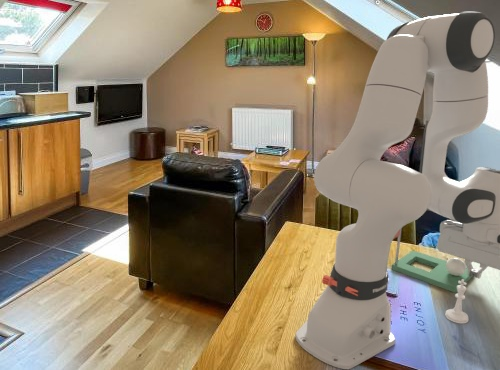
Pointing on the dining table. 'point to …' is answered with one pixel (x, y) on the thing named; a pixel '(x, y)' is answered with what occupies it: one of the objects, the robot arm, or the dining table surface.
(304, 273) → the dining table surface
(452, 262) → the ball
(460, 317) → the chess piece
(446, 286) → the putting mat
